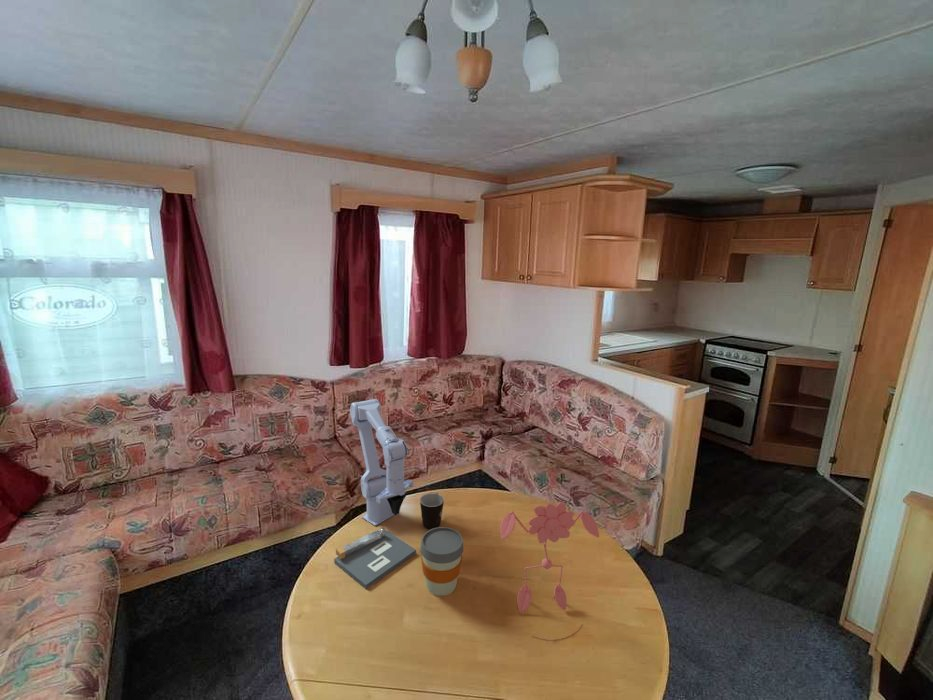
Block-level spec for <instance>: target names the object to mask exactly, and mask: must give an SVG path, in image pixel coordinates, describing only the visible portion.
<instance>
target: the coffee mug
mask: <svg viewBox="0 0 933 700" xmlns="http://www.w3.org/2000/svg"><path fill="white" fill-rule="evenodd" d="M419 502H420V503H419V504H420V512H421V519H422V520H421V522H422V526H423V528H424V529H426V530H427V531H429V530H431V529H433V528H437V527H441V523H442V517H443V508H444V502H445V498H444V496H443V495H441V494H439V492H436V493H435V492H430V493H429V492H428V493H426V494H423V495H422V496H421V497H420V498H419Z"/></svg>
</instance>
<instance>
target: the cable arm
mask: <svg viewBox="0 0 933 700" xmlns="http://www.w3.org/2000/svg"><path fill="white" fill-rule="evenodd" d="M380 538H382V533H381V532H380V530H378V529H377V530H375V531H372V532H371V533H368V534H367V535H364V536H362V537H360V538H358V539H355V540H353V541H352V542H349V543H347V544H345V545H343V546H342V545H340V546H338V547H336V548H335V555H336V556H337V557H339V558H340V559H342V558H344V557H345V555H347V554H349V553H351V552H353V551H355V550H357V549H359V548H361V547H364V546H366V545H368V544H370V543H372V542H374V541H376V540H378V539H380Z"/></svg>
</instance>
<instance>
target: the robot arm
mask: <svg viewBox="0 0 933 700" xmlns="http://www.w3.org/2000/svg"><path fill="white" fill-rule="evenodd" d="M349 409H350V410H349V414H350V419H351V423H352V426H354V427H357V431H358V435H359V440H360V444H361V449H362V455H363V458H364V459H363V460H364V464H365V470H366V471H365V472H364V473H363V475H362V476H361V478H360V490H361V493H362V497H363V498H365V499H366V513H364V514H363V515H361V518H363V520H366V521H367V522H369V523H370V524H371V525H373V526H377V525H380V524H381V523H383V522H384V521H386V520H388V519H390V518H391V517H393V516H398V515H399V514H400V511H401V507H402V504H403V502H404V500H405V498H406V496H407V494H406V491H407V490H408V489H409V488H412V487H414V481H413V480H412V479H406V480H405V458H406V457H407V456H408V447H407V444H406V442H405V440H404V439H401V438H400V437H399V438H398V436H397V435H396V434H395V432H394V430H393V429H392V427H391V426H389V425H386V423H385V421H384V419H383V417H382V415H381V411H382V410H381V403H380V401H379V400H378V399H377V398H373V399H369V400H368V399H367V400H362V401H356V402H352V403H351V404H350V406H349ZM373 429H374V430H375V436H374V434H373ZM375 438H376V439H377V441H378V442H379V445H380V446H381V447H382V454H383V458H384V465H385V466H386V469H383V468H381V466H380V460H379V455H378V451H377V446H376V442H375Z"/></svg>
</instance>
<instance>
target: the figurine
mask: <svg viewBox="0 0 933 700" xmlns="http://www.w3.org/2000/svg"><path fill="white" fill-rule="evenodd" d="M533 511H534V514H535V515H536V516H533V517H532V518H531V519H529V520H528V525H530V526H529V529H528V528H526V527H525V525H524V524H523V523H522V521H520V519H519V518H518V517H517V515H516V514H515V513H514V511H513V510H511V511H510V512H509V513H506V514H505V516H504V517H503V518H502V520H501V522H500V526H499V527H500V528H499V531H500V536H501V540H502V541H504V540H505V539H507V538H508V537H509V536H510V535H511V534H512V533H513V531H514V530H515V526H516V521H517V522H518V524H519V525H520V526H521V527H522V528H523V530H524V531H525V532H526V533H527V534H528V533H529V534H530V535H535V534H537V541H538V543H539V544H543V549H544V552H545V558H543V559H542V561H541V565H533V566H526V567H525V568H524V579H525V580H524V583H525V584H524V585H523V586H522V587H521V588H520V590H519V591H518V595H517V597H516V598H517V602H516V603H517V606H518V610H519V613H520V614H521V615H522V614H523V613H525V611H526V610H527V609H529V607H530V605H531V602H532V596H533V595H532V590H531V588H530V586H529V585H528V583H527V582H528V581H527V569H534V568H544V569H545V570H549V569H551V568H552V567H559V568H560V576H559V582H558V584H556V585H555V587H554V589H553V591H554V592H553V593H554V594H553V597H552V598H554V597H555V598H554V600H555V602H556V604H557V606H558V607H559V608H560V609H562V610H563V611H564V610H565V611H566V609H567V594H566V592H565V590H564V589H563V587H562V586H561V581H562V575H563V568H564V567H563V565H562V564H561V565H560V564H553V562H552V560H551V559H550V558H549V556H548V551H547V550H548V549H547V541H548V540H549V541H550V542H552V543H556V542H558V541H559V539H568V538H569V537H570V536H571V532H570V531H569V530H570V529H571V528H572V527H573V526H575V525H576V522H577V520H578V519H579V518H580V520H581V523H582V526H583V527H584V529H585V530H586V531H587V532H588V533H589V534H590V535H592V536H595V537H597V538H600V533H599V528H598V525H597V523H596V521H595V519H594V518H593V517H592V515H590V514H589V513H588V512H585V511H583V510H579V513H578V515H577V516H576V517H575V518H574V511H572V510H569V511H567V505H566V503H565V501H560V502H558V503H557V505H555V504H552V503H547V504H546V506H543V505H537V506H535V507H534V509H533ZM573 518H574V519H573ZM576 634H577V633H575V632H573V633H572V634H571V635H568V636H566V637H563V638H560V639H556V640H555V643H556V642H558V641H559V640H564V639H566V638H569V637H571V636H572V635H574V636H576ZM531 637H532V638H534V639H535V638H536V639H539V640H541V638H539V637H536V636H531ZM542 640H544V641H546V639H544V638H542Z"/></svg>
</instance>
